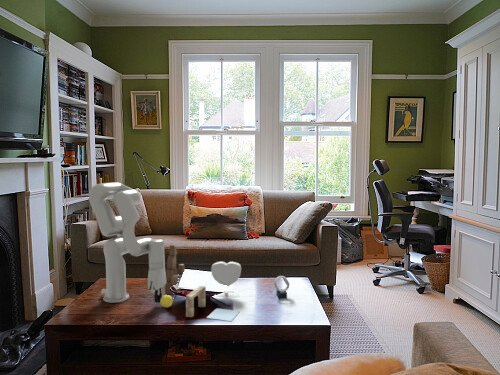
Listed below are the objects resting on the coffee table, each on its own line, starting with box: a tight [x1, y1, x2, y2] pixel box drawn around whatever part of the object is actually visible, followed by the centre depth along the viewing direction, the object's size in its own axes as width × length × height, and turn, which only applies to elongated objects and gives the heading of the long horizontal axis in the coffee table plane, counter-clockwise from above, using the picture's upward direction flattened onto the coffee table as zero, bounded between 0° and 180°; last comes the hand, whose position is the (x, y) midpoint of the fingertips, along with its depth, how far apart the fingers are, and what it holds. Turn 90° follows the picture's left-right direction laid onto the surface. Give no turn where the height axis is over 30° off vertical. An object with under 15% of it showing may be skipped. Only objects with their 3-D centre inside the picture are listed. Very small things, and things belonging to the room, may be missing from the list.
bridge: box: [185, 285, 207, 318], centre depth 189 cm, size 3×15×10 cm, turn 162°
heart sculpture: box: [210, 261, 242, 299], centre depth 210 cm, size 16×5×18 cm, turn 88°
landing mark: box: [206, 307, 241, 322], centre depth 185 cm, size 12×12×1 cm
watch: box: [273, 275, 290, 300], centre depth 209 cm, size 6×8×11 cm
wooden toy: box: [164, 244, 185, 295], centre depth 219 cm, size 16×7×25 cm, turn 173°
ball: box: [159, 294, 174, 308], centre depth 194 cm, size 6×6×6 cm
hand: (158, 301), depth 196 cm, fingers closed
